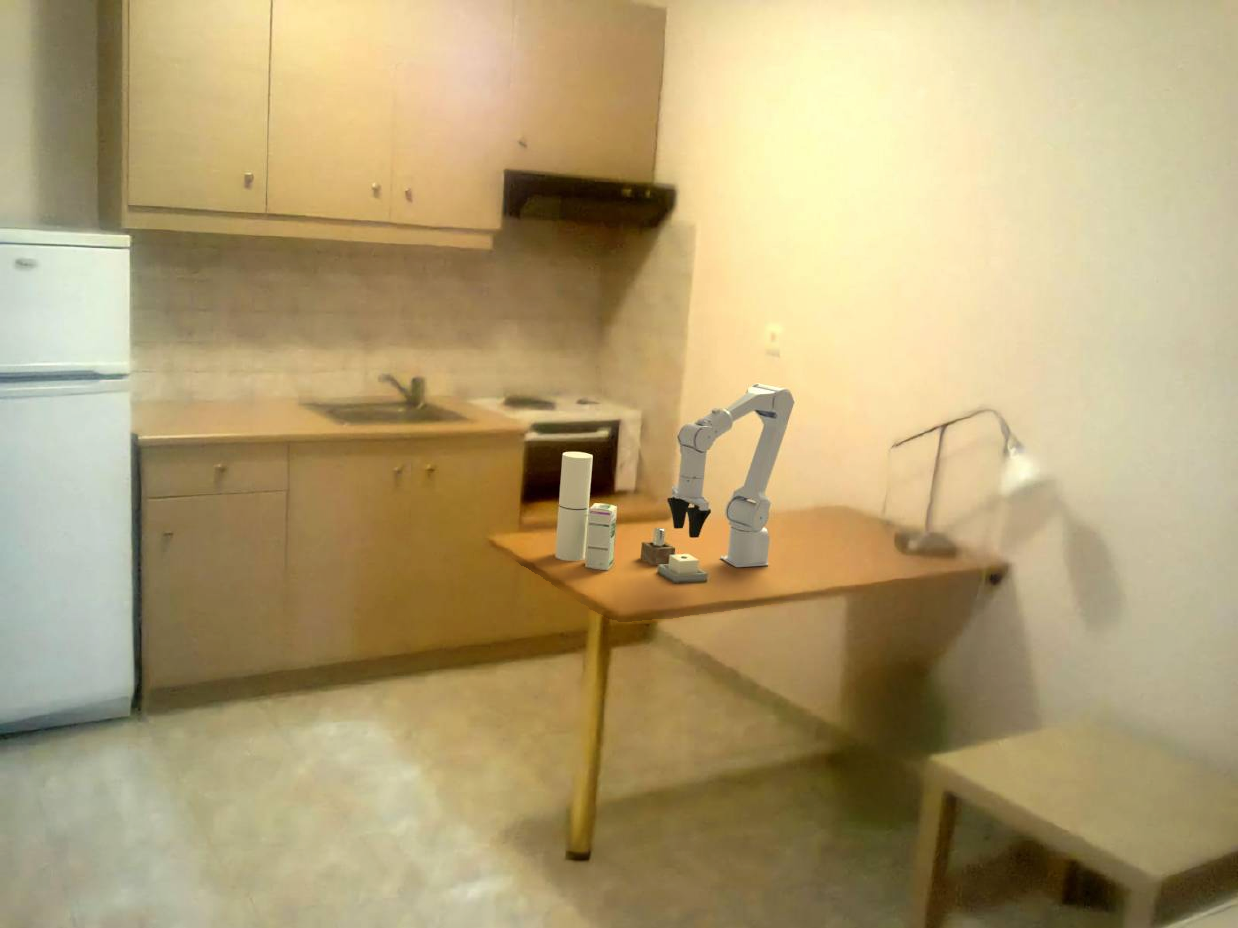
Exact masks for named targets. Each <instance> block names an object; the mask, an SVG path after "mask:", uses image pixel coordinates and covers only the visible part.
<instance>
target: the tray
mask: <svg viewBox="0 0 1238 928" xmlns="http://www.w3.org/2000/svg"><path fill="white" fill-rule="evenodd" d="M668 566H669V564H660V565H657V573H658V574H660V575H662V576H663V577H664V578H666V579H668V580H669V581H670V582H672V583H673V584H684V583H685V584H686V583H697V582H700V583H701V582H708V573H707V572H705V570H703V569H701V568H699V567H698V573H693V574H678V575H677V574H675V573H674V572H672V571H670V570H669V569H668Z"/></svg>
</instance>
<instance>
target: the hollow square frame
mask: <svg viewBox="0 0 1238 928" xmlns="http://www.w3.org/2000/svg"><path fill="white" fill-rule="evenodd" d="M675 553H676V547H674V546H673V545H671V544H670V543H668V542H666V541H665V540H664V547H661V548H654V547H653V541H641V550H640V559H641V558H642V559H641V560H642V561H644V560H645V561H644V562H646V563H647V564H649V565H651V566H658V565H660V564H669V556H670V555H676V554H675Z"/></svg>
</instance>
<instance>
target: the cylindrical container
mask: <svg viewBox="0 0 1238 928" xmlns="http://www.w3.org/2000/svg"><path fill="white" fill-rule="evenodd" d="M593 458H594V457H593V454H590V453H587V452H582V451H565V452H563V453H562V457H561V470H560V471H561V472H560V484H559V498H558V510H557V512H558V513H557V522H556V523H557V525H556V536H555V537H556V540H555V542H556V543H555V549H554V550H555V553H554V557H555V558H556V559H559V560H561V561H567V562H579V561H583V560H585V558H586V542H587V526H588V511H589V508H590V497H591V494H590V493H591V484H592V471H593V460H594V459H593Z"/></svg>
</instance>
